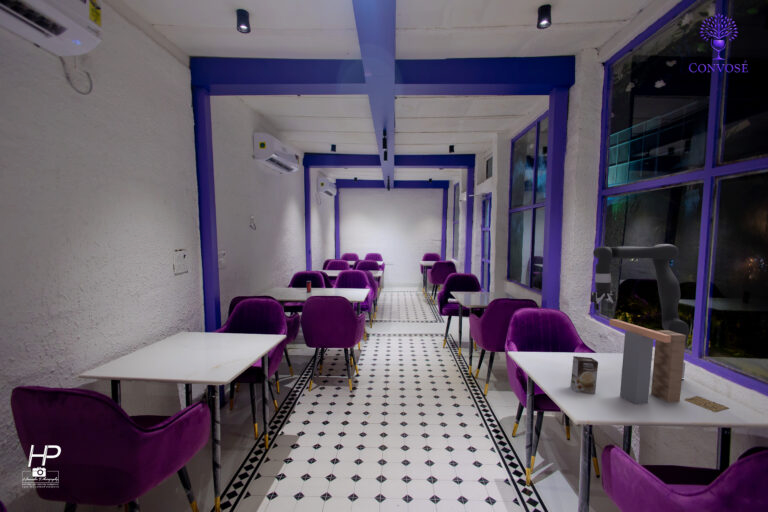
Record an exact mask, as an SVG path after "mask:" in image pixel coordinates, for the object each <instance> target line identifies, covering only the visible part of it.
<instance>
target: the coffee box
mask: <svg viewBox="0 0 768 512" xmlns="http://www.w3.org/2000/svg"><path fill="white" fill-rule="evenodd" d="M571 368H572V369H571V378H570V387H571V389H572V390H574V392H576V393H585V394H596V393H597V392H596V390H597V380H598V369H599V362H598V360H596V359H595V358H593V357H587V356H577V355H576V356H575V355H574V356H572V367H571Z"/></svg>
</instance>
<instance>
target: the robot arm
mask: <svg viewBox="0 0 768 512" xmlns="http://www.w3.org/2000/svg"><path fill="white" fill-rule="evenodd" d="M592 254H593V257H595V258H596V259H598V262H597V263H596V265H595V275H594V276H595V277H594V282H595V283H594V285H595V287H594V288H595V290H596V291H591V292H590V302H591V303H593V306H594V308H593V309H594V310H595V311H599V310H600V301H602V300H606V301H607V309H608V310H609V311H610V310H613V304H614V303H615V302H617V298H616V291H614V290H612V277H611V276H612V275H611V265H612V264H611V263H612V261H613V259H617V260H627V259H628V260H630V259H631V260H632V259H651V260H652V262H653V267H654V269H655V275H656V276H655V277H656V281H657V282H656V283H657V289H658V297H659V302H660V308H661V326H662V328H663V330H669V331H672V332H676V333H680V334H683V335H686V339H685V347H687V345H688V341H689V335H690V334H689V333H690V328H689V324H687V322H686V321H684V320H682V319H680V316H679V311H678V307H679V303H680V300H681V288H680V283H679V280H678V278H677V277H676V275H675V274H674V273H673V271H672V268H671V265H670V261H673V260H675V259H676V258H678V256H679V254H680V252H679V249H678V247H677V246H675V245H673V244H670V243H660V244H655V245H654V246H614V247H613V246H599V247H598V246H597V247H596V248H594V250H593V253H592ZM685 351H686V350H684V353H685ZM685 369H686V362H685V361H683V372H682V378H684V379H685Z"/></svg>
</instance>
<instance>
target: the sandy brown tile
mask: <svg viewBox="0 0 768 512" xmlns="http://www.w3.org/2000/svg"><path fill="white" fill-rule="evenodd" d="M684 401H685V402H686V403H687V402H688V403H690V404H693V405H695V406H698V407H700V408H703V409H706V410H707V411H710V410H711V412H713V413H719V412H721V411H724V410H729V409H730V407H728V406H726V405H723V404H720V403H717V402H715V401H713V400H709V399H706V398H705V397H703V396H698V395H695V396H693V397H689V398H684Z"/></svg>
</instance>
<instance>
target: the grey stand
mask: <svg viewBox="0 0 768 512" xmlns="http://www.w3.org/2000/svg"><path fill="white" fill-rule="evenodd" d="M654 340H655V339H652V338H649V337H646V336H643V335H639V334H636V333H633V332H630V331H627V330H624V342H623V351H622V352H623V353H622V354H623V355H622V363H621V364H622V366H621V369H622V370H621V377H620V378H621V379H620V391H619V397H621V398H623V399H625V400H626V401H628V402H630V403H632V404H633V405H645V404H649V396H650V387H651V373H652V364H653V363H652V361H653V360H652V359H653V351H654Z"/></svg>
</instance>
